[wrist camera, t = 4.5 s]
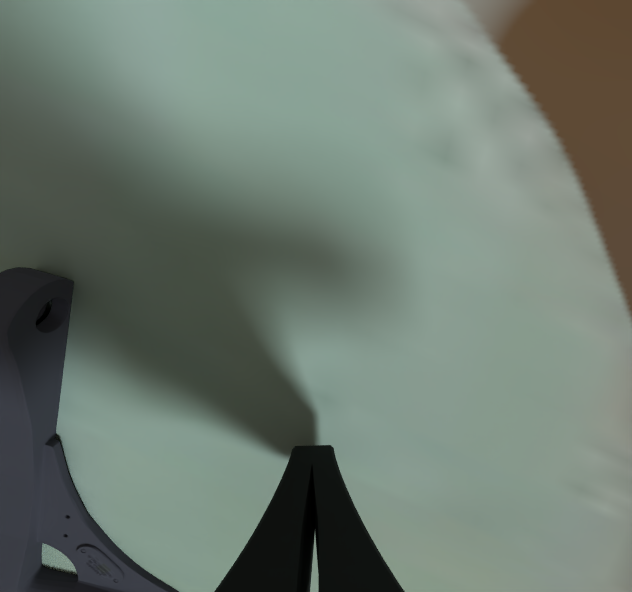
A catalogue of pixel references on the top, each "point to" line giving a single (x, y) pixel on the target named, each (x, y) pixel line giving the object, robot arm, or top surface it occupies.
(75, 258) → the top surface
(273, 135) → the top surface
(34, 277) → the bracket
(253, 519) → the top surface
